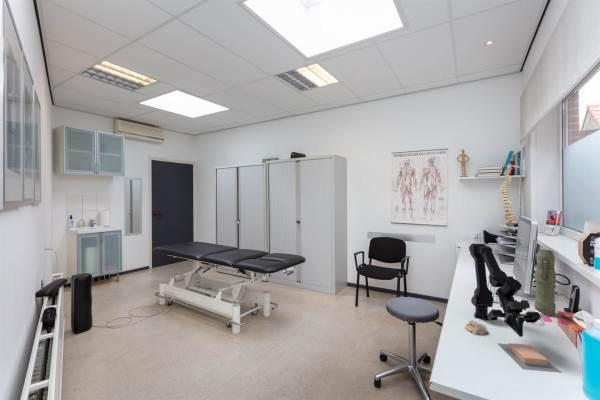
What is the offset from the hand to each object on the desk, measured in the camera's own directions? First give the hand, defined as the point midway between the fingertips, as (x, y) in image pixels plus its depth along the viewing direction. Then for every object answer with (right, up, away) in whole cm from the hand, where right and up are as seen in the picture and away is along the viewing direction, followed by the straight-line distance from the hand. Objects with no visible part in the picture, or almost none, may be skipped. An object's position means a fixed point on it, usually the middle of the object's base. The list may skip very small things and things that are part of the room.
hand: (521, 336), depth 120 cm
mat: (-1, -7, -3) cm, 8 cm away
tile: (0, -5, +2) cm, 5 cm away
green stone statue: (+44, -6, +40) cm, 60 cm away
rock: (-7, -7, +19) cm, 22 cm away
